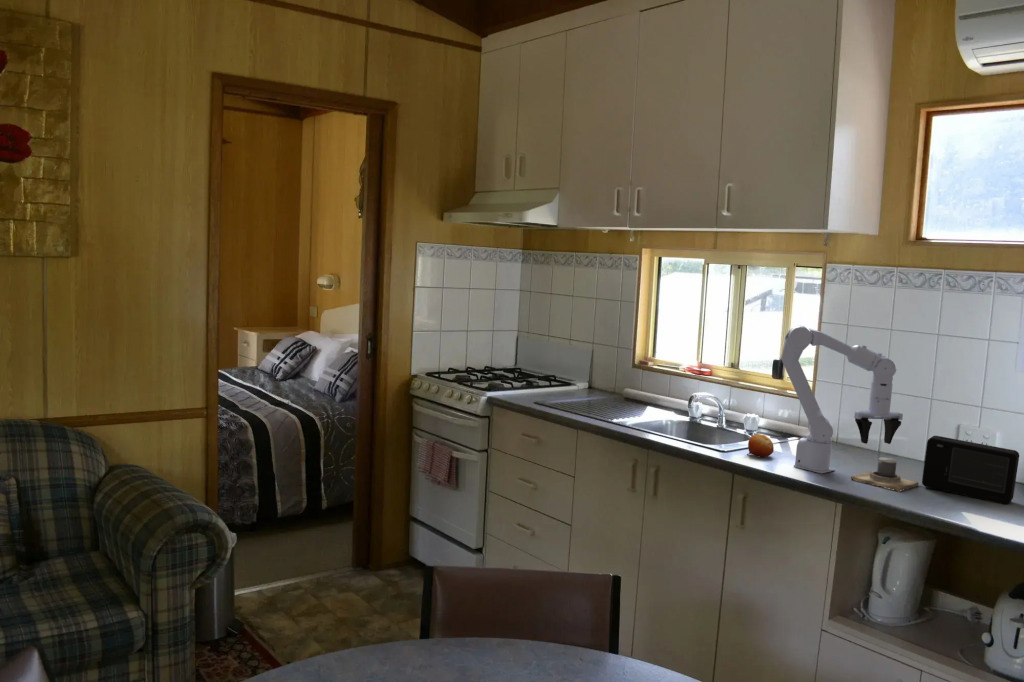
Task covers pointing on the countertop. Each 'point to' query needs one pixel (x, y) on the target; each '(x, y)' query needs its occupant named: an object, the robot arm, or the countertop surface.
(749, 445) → the fruit
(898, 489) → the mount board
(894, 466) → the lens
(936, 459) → the black box
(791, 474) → the countertop surface
